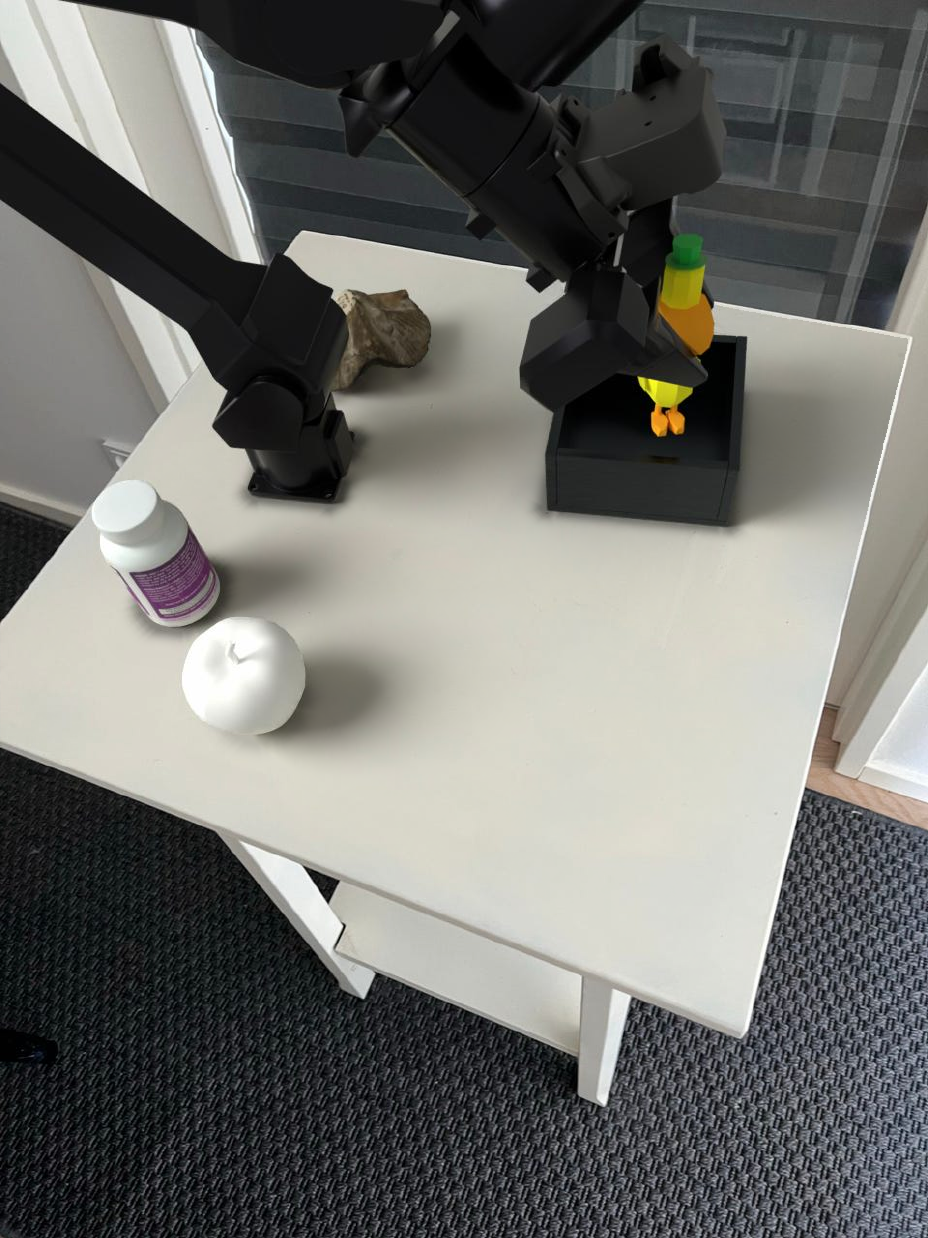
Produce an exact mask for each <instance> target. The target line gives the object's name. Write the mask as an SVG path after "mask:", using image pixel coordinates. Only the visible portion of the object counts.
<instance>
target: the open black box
mask: <svg viewBox="0 0 928 1238" xmlns="http://www.w3.org/2000/svg"><path fill="white" fill-rule="evenodd" d="M747 351H748V336H747V335H729V334H728V335H727V334H715V333H714V334H713V338H712V341H711V344H710V347H709V348H708V349H707V350H706V351H705V352H703V353H702V354H701V355H695V356H696V357H697V358H698V359H700V363H701V364H702V366H703V367H704V369H705V370H706V372H707V374H708V376H707V380H706V381H705V382H703V383H701V384H700V385H698V386H696V387H693V390H692V394H690V395H689V396H688V397H687V398H685V399H684V400H683V401H682V402H680V403H679V404H678V407H677V411H678V412H679V413H681V414H682V415H683V417H684V418H685V420H684V432H683V433H682V434H674V433H673V432H672V431H671V430H670V429H669V427H668V426H667V433H666V436H657V434H656V433H655V432H654V431H653V429H652V423H651V413H652V412H655V405H656V402H655V401H653V399H652V398H651V397H650V395H649V394H648V393H647V391H646V390H645V391H644V389H643V388H642V387H641V386H640V383H639V379H638V376H632V375H627V374H622V373H615V374H614V375H612V376H610V377H609V378H607V379H606V380H604V381H603V382H601V383H599V384H598V385H596V386H595V387H593V388H592V389H590V390H588V391H587V392H585V393H584V394H582V395H581V396H579V397H577V398H576V399H574V400H573V401H571V402H570V403H568V404H566V405H565V406H563V407H562V408H560V409H559V410H557V411H555V412H554V413H552V418H551V422H550V427H549V432H548V437H547V443H546V448H545V452H544V464H545V491H546V492H545V495H546V497H545V498H546V510H547V511H553V512H562V513H574V514H582V515H583V514H584V515H596V516H605V517H615V518H629V519H636V520H648V521H658V522H668V523H669V522H670V523H680V524H691V525H702V526H710V527H711V526H714V527H723V528H727V526H728V524H729V519H730V515H731V511H732V506H733V501H734V498H735V492H736V489H737V485H738V481H739V476H740V471H741V458H742V439H743V423H744V420H743V419H744V405H745V388H746V370H747V368H746V367H747ZM670 409H671V408H669V407H662V410H661V412H662V413H663V414H664V415H665V416H666V411H668V410H670Z"/></svg>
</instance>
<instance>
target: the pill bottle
mask: <svg viewBox="0 0 928 1238" xmlns="http://www.w3.org/2000/svg"><path fill="white" fill-rule="evenodd" d="M91 519H92V522H93V523H94V525H95V526H96V528H97V530H98V532H99V533H100V535H99V547H100V550H101V553H102V556H103V558H104V559H105V561H106V562H107V564H108V565H109V566H110V568H111V569H112V570H113V571H114V573H115V574H116V576H117V578H119V580H120V581H121V583H122V584H123V586H124V587H125V589H126V590H127V591H128V592H129V594H130V595H131V596H132V598H133V599H134V600H135V601H136V603H137V604H138V605H139V607H140V608H141V609H142V611H143V613H145V614H146V616H147V617H148V618H149V619H150V620H152V622H154V623H156V624H158V625H161V626H163V627H168V628H173V627H175V628H176V627H184V626H187V625H190V624H193V623H196V622H197V621H199V620H201V619H202V618H203V617H205V616H206V615H207V614H208V613H209V612H210V611H211V610H212V608H213V607H214V606H215V604H216V603H217V600H218V599H219V595H220V593H221V582H220V579H219V575H218V574H217V572H216V570H215V568H214V566H213V564H212V563H211V561H210V559H209V557H208V555H207V554H206V552H205V549H204V547H203V545H201V543H200V541H199V540H198V537H197V536H196V534H195V533H194V530H193V529H192V527H191V525H190V524H189V521H188V520H187V518H186V516H185V515H184V514H183V512H182V511H181V510H180V509H179V508H178V507H177V506H176V505H175V504H173V503H172V502H170V501H168V500H165V499H162V498H161V496H160V494H159V493H158V491H157V489H156V488H155V487H154V486H153V485H152V484H150V483H149V482H147V481H145V480H142V479H136V478H135V479H125V480H121V481H118V482H115V483H113V484H111V485H110V486H108V487H107V488H105V489H104V490H102V492H100V494H99V495H98V496H97V497H96V499H95V501H94V502H93V504H92V507H91Z"/></svg>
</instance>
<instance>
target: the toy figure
mask: <svg viewBox="0 0 928 1238" xmlns="http://www.w3.org/2000/svg"><path fill="white" fill-rule="evenodd" d="M703 242H704V238H703V237H701V236H700V235H698V234H695V233H682V235H679V236H676V237H674V240H673V252H672V253H670V254H668V255H667V257H666V267H665V273H664V281H663V290H662V291H661V294H660V296H659V304H658V310H659V312H660V313H661V315H662V316H663V317H664V318H665V320H666V321H667V322H668V323H669V324H670V326H671V327H672V328H673V329H674V330H675V332H676V333H677V334H678V335H679V336H680V338H681V339H682V340H683V341H684V343H685V344H686V345H687V346H688V347H689V349H690V350H691V351H692V352H693V353H694V355H701V354H702V353H703V352H705V351H706V350H707V349H708V348H709V347H710V344H711V341H712V338H713V334H714V335H715V319H714V315H713V311H712V310H711V307H710V305H709V303H708V301H707V298H706V296H705V295H704V294H701V289H702V283H703V279H704V276H705V269H706V264H707V262H708V257H707V255H706V254H705V253H703V252H701V251H702V246H703ZM697 359H698V358H697ZM698 360H699V362H700V359H698ZM638 379H639V383H640V386H641V387H642V388H643V389H644V391H645V390H646V391H647V393H648V394H649V395H650V397H651V398H652V399H653V401H655V402H656V405H655V412H652V413H651V423H652V429H653V431H654V432H655V433H656V434H657V436H666V433H667V426H668V427H669V429H670V430H671V431H672V432H673V433H674V434H682V433H683V432H684V420H685V418H684V417H683V415H682V414H681V413H679V412H678V411H677V407H678V404H679V403H680V402H682V401H683V400H684V399H685V398H687V397H688V396H689V395H690V394H692V390H693V388H689V387H685V386H680V385H675V384H670V383H666V382H661V381H656V380H652V379H647V378H642V377H638ZM662 407H669V408H671V409H670V410H668V411H666V416H665V415H664V414H663V413H662V412H661V410H662Z"/></svg>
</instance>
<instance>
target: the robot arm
mask: <svg viewBox="0 0 928 1238" xmlns="http://www.w3.org/2000/svg"><path fill="white" fill-rule="evenodd" d="M58 1H60V2H65V3H70V4H77V5H80V6H81V5H82V6H86V7H92V8H98V9H102V10H107V11H113V12H119V13H123V14H129V15H133V16H138V17H139V16H140V17H145V18H150V19H154V20H159V21H160V20H161V21H167V22H171V23H175V24H179V25H180V26H184V27H186V28H189V29H192V30H194V31H198V32H200V33H202V34H203V35H204V36H206V37H207V38H209V40H211V41H212V42H213V43H214V44H216V45H217V46H218V47H219V48H221V50H223V51H224V52H225V53H227V54H228V55H229V56H230V57H232V58H233V59H234V60H235V61H236V62H238V63H239V64H241V65H244V66H246V67H249V68H252V69H254V70H257V71H260V72H263V73H265V74H268V75H271V76H274V77H276V78H280V79H282V80H284V81H286V82H290V83H293V84H296V85H298V86H301V87H304V88H306V89H307V88H308V89H311V90H314V91H331V92H332V91H334V92H335V91H337V90H339V92H338V94H337V97H336V101H337V103H338V105H339V107H340V111H341V114H342V118H343V127H344V143H345V152H346V154H347V155H348V157H350V158H352V159H359V158H360V157H361V156H362V155H363V154H364V153H365V152H366V150H368V148H369V147H370V146H371V144H372V143H373V142H374V141H375V140H376V138H378V136H379V135H380V134H381V133H382V132H383V131H385V132H386V133H387V134H388V135H389V136H390V137H391V138H393V139H394V140H395V141H396V142H397V143H398V144H399V145H400V146H402V148H404V149H405V150H406V151H407V152H408V153H409V154H410V155H411V156H413V157H414V159H416V160H417V161H418V162H419V163H420V164H421V165H423V166H424V167H425V168H426V169H427V170H428V171H429V172H430V173H432V174H433V175H434V176H435V177H436V178H437V179H438V180H439V181H440V182H441V183H442V184H444V185H445V186H446V187H447V188H448V189H449V190H450V191H451V192H453V193H454V194H455V195H456V196H457V197H458V198H459V199H460V200H461V201H462V202H463V203H465V204H466V205H467V207H469V208H470V210H469V213H468V217H467V220H466V222H465V225H464V228H465V229H466V230H467V231H468V232H469V233H470V234H472V236H474V237H475V238H476V239H477V240H478V241H479V242H481V241H482V240H483V239H484V238H485V237H486V236H487V235H489V234H490V233H491V232H492V231H493V230H495V231H496V232H497V233H498V234H499V235H500V236H501V237H502V238H504V239H505V240H506V241H507V243H509V244H510V245H511V246H512V247H513V248H514V249H516V251H518V252H519V253H520V254H521V255H522V256H524V257H525V258H526V259H527V261H529V266H528V269H527V273H526V277H525V282H526V284H527V285H529V286H530V287H531V288H532V289H534V290H535V291H536V292H537V293H538V294H541V293H542V292H544V291H546V289H548V288H549V287H550V286H551V285H553V284H554V283H555V282H556V281H559V282H560V283H562V284H565V285H564V290H563V295H561V297H559V298H558V299H557V300H555V301H554V302H552V303H551V304H550V305H548V306H547V307H546V308H544V309H543V310H542V311H541V312H539V313H538V314H537V315H535V316H534V317H533V318H531V319H530V322H529V325H528V329H527V334H526V338H525V342H524V346H523V351H522V354H521V358H520V362H519V368H518V370H519V371H518V372H519V374H518V375H519V389H520V390H522V391H523V392H524V393H526V395H528V396H529V397H530V398H532V399H533V400H534V401H535V402H537V403H538V404H539V405H540V406H541V407H543V408H544V409H545V410H546V411H548V412H551V413H552V414H553V413H554V412H555V411H557V410H559V409H560V408H562V407H563V406H565V405H566V404H568V403H570V402H571V401H573V400H574V399H576V398H577V397H579V396H581V395H582V394H584V393H585V392H587V391H588V390H590V389H592V388H593V387H595V386H596V385H598V384H599V383H601V382H603V381H604V380H606V379H607V378H609V377H610V376H612V375H614V374H615V373H622V374H627V375H632V376H638V377H642V378H647V379H652V380H656V381H661V382H666V383H670V384H675V385H680V386H685V387H689V388H693V387H696V386H698V385H700V384H701V383H703V382H705V381H706V380H707V376H708V374H707V372H706V370H705V369H704V367H703V366H702V364H701V363H700V362H699V360H698V359H697V357H696V356H695V355H694V353H693V352H692V351H691V350H690V349H689V347H688V346H687V345H686V344H685V343H684V341H683V340H682V339H681V338H680V336H679V335H678V334H677V333H676V332H675V330H674V329H673V328H672V327H671V326H670V324H669V323H668V322H667V321H666V320H665V318H664V317H663V316H662V315H661V313H660V312H659V310H658V304H659V296H660V294H661V291H662V290H663V281H664V273H665V267H666V257H667V255H668V254H670V253H672V252H673V240H674V237H676V236H679V235H682V234H683V233H682V231H681V229H680V226H679V225H678V222H677V219H676V217H675V215H674V211H673V203H674V197H678V196H680V195H682V194H688V195H695V194H698V193H700V192H702V191H705V190H707V189H709V188H711V187H712V186H713V185H715V183H717V182H718V181H719V180H720V178H721V177H722V175H723V173H724V166H725V165H724V147H725V141H726V140H727V133H728V131H727V129H726V126H725V123H724V119H723V117H722V116H723V115H722V114H721V110H720V107H719V104H718V102H717V98H716V96H715V92H714V88H715V77H716V74H715V72H714V70H713V68H710V67H707V66H705V65H704V63H703V60H702V58H701V55H697V56H695V57H692V56H691V55H690V54H689V53H688V52H687V51H686V50H685V49H684V48H683V47H681V45H679V44H678V43H677V42H676V41H675V40H674V39H673V38H672V37H671V36H669V34H662V35H660V36H658V37H656V38H653V39H651V40H650V41H647V42H644V43H642V44H640V45H639V46H638V47H637V49H636V55H635V59H634V63H633V64H634V65H633V72H632V82H631V90H630V92H628V93H627V91H626V89H625V87H622V88H620V89H618V90H616V92H615V96H614V101H613V102H612V103H610V104H607V105H605V106H603V107H601V108H599V109H598V110H596V111H594V112H593V111H592V110H590V109H589V108H587V107H586V106H585V104H583V103H582V102H581V100H580V99H579V98H577V96H575V95H573V94H572V95H571V94H570V95H569V96H567V95H566V93H564V91H561V92H560V93H559V94H558V95H557V96H556V97H555V98H554V99H553V100H552V101H551V102H550V103H549V102H548V101H547V100H546V99H545V98H544V97H543V96H542V95H541V94H540V93H539V92H538V91H539V90H540V89H541V87H542V86H544V87H549V88H555V87H558V86H560V85H562V84H563V83H564V82H565V81H566V80H568V78H569V77H570V76H572V74H573V73H574V72H575V71H577V70H578V68H579V67H580V66H582V64H583V63H585V62H586V61H587V59H589V58H590V57H591V55H593V54H594V52H596V51H597V50H598V48H599V47H601V46H602V45H603V44H604V43H605V42H606V41H607V40H608V39H609V38H610V37H611V36H612V35H613V34H614V33H615V32H616V31H617V30H618V29H619V28H620V27H621V26H622V25H623V24H624V23H625V22H626V21H627V20H628V19H629V18H630V17H631V16H632V15H633V14H634V13H636V11H637V10H638V9H639V8H640V7H641V6H642V5H643V4H644V3H645V2H647V0H58ZM375 65H378V66H377V67H376V68H374V69H371V70H368V69H369V68H370V67H371V66H375ZM0 202H1V203H4V204H5V205H7V206H8V207H10V208H11V209H12V210H14V211H15V212H17V213H18V214H20V216H22V217H24V218H25V219H26V220H28V221H29V222H31V223H32V224H33V225H35V226H37V227H38V228H39V229H41V230H43V231H44V232H45V233H46V234H48V235H50V236H51V237H52V238H54V239H56V240H57V241H58V242H60V244H63V245H64V246H65V247H66V248H69V250H71V251H72V252H73V253H75V254H77V255H78V256H79V257H81V258H83V260H86V261H87V262H88V263H90V264H91V265H93V267H95V268H97V269H98V270H100V271H101V272H102V273H104V274H105V275H107V276H108V277H110V279H112V280H114V281H115V282H117V283H118V284H120V285H121V286H123V288H125V289H126V290H128V291H130V292H131V293H132V294H134V295H135V296H137V297H138V298H140V299H141V300H143V301H144V302H145V303H147V304H148V305H150V306H151V307H153V308H154V309H156V310H157V311H159V312H160V313H161V314H163V315H164V316H166V317H167V318H169V319H170V320H171V321H172V322H174V323H176V324H177V325H179V327H181V329H183V330H184V331H186V332H187V334H188V336H189V337H190V339H191V341H192V343H193V345H194V346H195V349H196V350H197V352H198V354H199V356H200V357H201V358H202V361H203V363H204V365H205V366H206V368H207V370H208V372H209V373H210V375H211V378H212V379H213V380H214V381H215V382H216V383H217V384H218V385H219V386H221V387H222V388H223V389H224V390H226V393H225V395H224V397H223V399H222V402H221V404H220V406H219V408H218V411H217V413H216V415H215V417H214V420H213V421H212V423H211V428H212V430H213V431H214V432H215V433H216V434H217V436H219V437H220V438H221V439H222V441H223V442H224V443H225V444H226V445H227V446H228V447H229V448H230V449H238V450H239V449H240V450H241V449H242V450H244V452H245V453H246V456H247V459H248V460H249V463H250V465H251V467H252V470H253V473H252V474H251V475H252V476H251V477H250V480H249V481H248V485H247V491H248V493H249V495H250V496H253V497H261V498H269V499H281V500H290V501H291V500H292V501H302V502H313V503H323V504H330V503H333V502H334V501H335V500H336V499H337V496H338V494H339V491H340V487H341V484H342V483H343V479H345V477H347V475H348V472H349V469H350V467H351V463H352V460H353V458H354V454H355V451H356V450H355V443H356V439H357V438H356V434H355V432H354V431H352V430H350V429H349V426H348V422H347V419H346V414H345V412H344V411H343V410H342V409H337V406H336V401H335V398H334V396H333V391H331V388H332V385H333V382H334V379H335V377H336V374H337V371H338V369H339V366H340V363H341V360H342V358H343V355H344V352H345V350H346V347H347V344H348V339H349V334H350V333H349V329H348V324H347V321H346V320H347V315H346V314H345V312H344V311H343V309H342V308H341V307H340V306H339V305H338V304H337V303H336V301H335V300H336V299H334V298H333V294H334V289H333V287H331V286H328V285H326V284H323V283H321V282H319V281H318V280H316V279H315V278H313V277H311V276H310V275H309V274H307V273H306V272H305V271H304V270H303V269H302V268H301V267H300V266H299V264H297V262H295V261H294V260H293V259H292V258H291V257H290V256H288V255H286V254H283V253H281V252H275V253H274V254H273V256H272V258H271V259H270V262H269V264H268V265H267V264H261V263H256V262H249V261H242V260H237V259H233V258H232V257H230V256H228V255H227V254H225V253H224V252H223V251H221V250H220V249H219V248H218V247H216V246H215V245H213V244H212V242H210V241H208V240H207V239H206V238H204V237H203V236H202V235H200V234H199V233H198V232H197V231H196V230H194V229H193V228H191V227H190V226H189V225H188V224H186V223H185V222H184V221H182V220H181V219H179V217H177V216H176V215H175V214H173V213H172V212H170V211H169V210H168V209H166V208H165V207H164V206H162V205H161V204H160V203H158V202H157V201H156V200H154V199H153V198H152V197H150V196H149V195H148V194H147V193H146V192H144V191H142V189H140V188H139V187H138V186H136V185H135V184H134V183H132V182H131V181H129V179H127V178H126V177H125V176H124V175H122V174H120V173H119V172H118V171H116V170H115V169H114V168H113V167H111V165H109V164H107V163H106V162H105V161H104V160H102V159H100V157H98V156H97V155H95V154H94V153H93V152H92V151H90V150H89V149H87V148H86V147H85V146H83V144H81V143H80V142H78V141H77V140H76V139H75V138H73V137H72V136H70V135H69V134H68V133H67V132H65V131H64V130H63V129H62V128H60V127H59V126H57V125H56V124H55V123H53V122H52V121H51V120H50V119H48V118H47V117H46V116H44V114H42V113H40V112H39V111H38V110H37V109H35V108H34V107H33V106H31V105H30V104H29V103H27V102H26V101H25V100H23V99H22V98H20V96H18V95H17V94H16V93H14V92H13V91H12V90H11V89H9V88H7V87H6V86H5V85H4V84H2V83H1V82H0ZM701 294H704V295H705V296H706V298H707V301H708V303H709V305H710V307H711V311H712V310H713V309H714V308H715V300H714V298H713V295H712V293H711V291H710V289H709V287H708V285H707V283H706V281H705V279H704V278H703V283H702V289H701Z"/></svg>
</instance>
